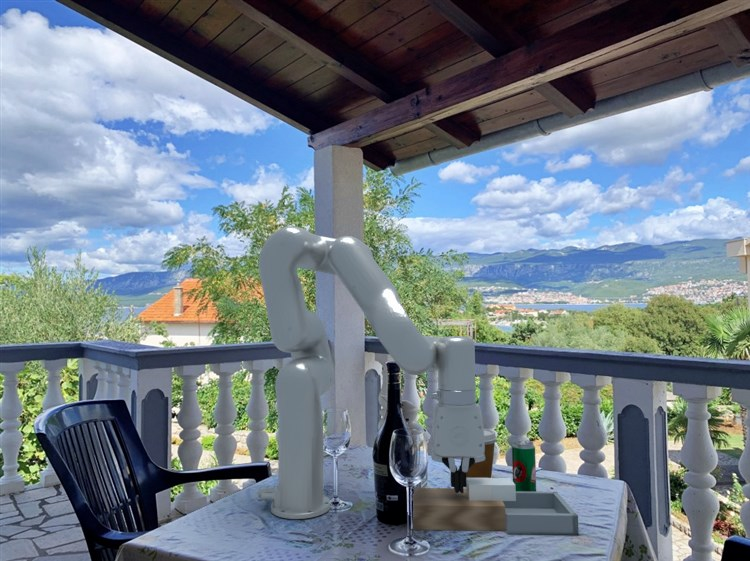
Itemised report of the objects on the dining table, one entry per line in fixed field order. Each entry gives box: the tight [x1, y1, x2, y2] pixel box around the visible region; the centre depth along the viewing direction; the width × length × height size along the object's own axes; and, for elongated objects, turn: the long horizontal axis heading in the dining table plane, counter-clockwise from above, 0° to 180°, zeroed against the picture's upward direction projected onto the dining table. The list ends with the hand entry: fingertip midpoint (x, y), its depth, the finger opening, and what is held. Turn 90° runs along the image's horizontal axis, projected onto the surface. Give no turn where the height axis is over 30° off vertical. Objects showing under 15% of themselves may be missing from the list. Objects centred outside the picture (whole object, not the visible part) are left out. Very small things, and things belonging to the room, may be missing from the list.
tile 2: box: [489, 477, 516, 501], centre depth 103 cm, size 4×4×3 cm
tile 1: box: [465, 478, 493, 501], centre depth 103 cm, size 4×4×3 cm
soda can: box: [511, 439, 537, 492], centre depth 116 cm, size 5×5×12 cm
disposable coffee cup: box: [466, 428, 497, 478], centre depth 127 cm, size 10×10×12 cm
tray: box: [503, 491, 580, 536], centre depth 102 cm, size 13×13×4 cm
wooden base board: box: [413, 487, 506, 532], centre depth 103 cm, size 18×10×4 cm, turn 87°
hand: (458, 490), depth 103 cm, fingers closed
